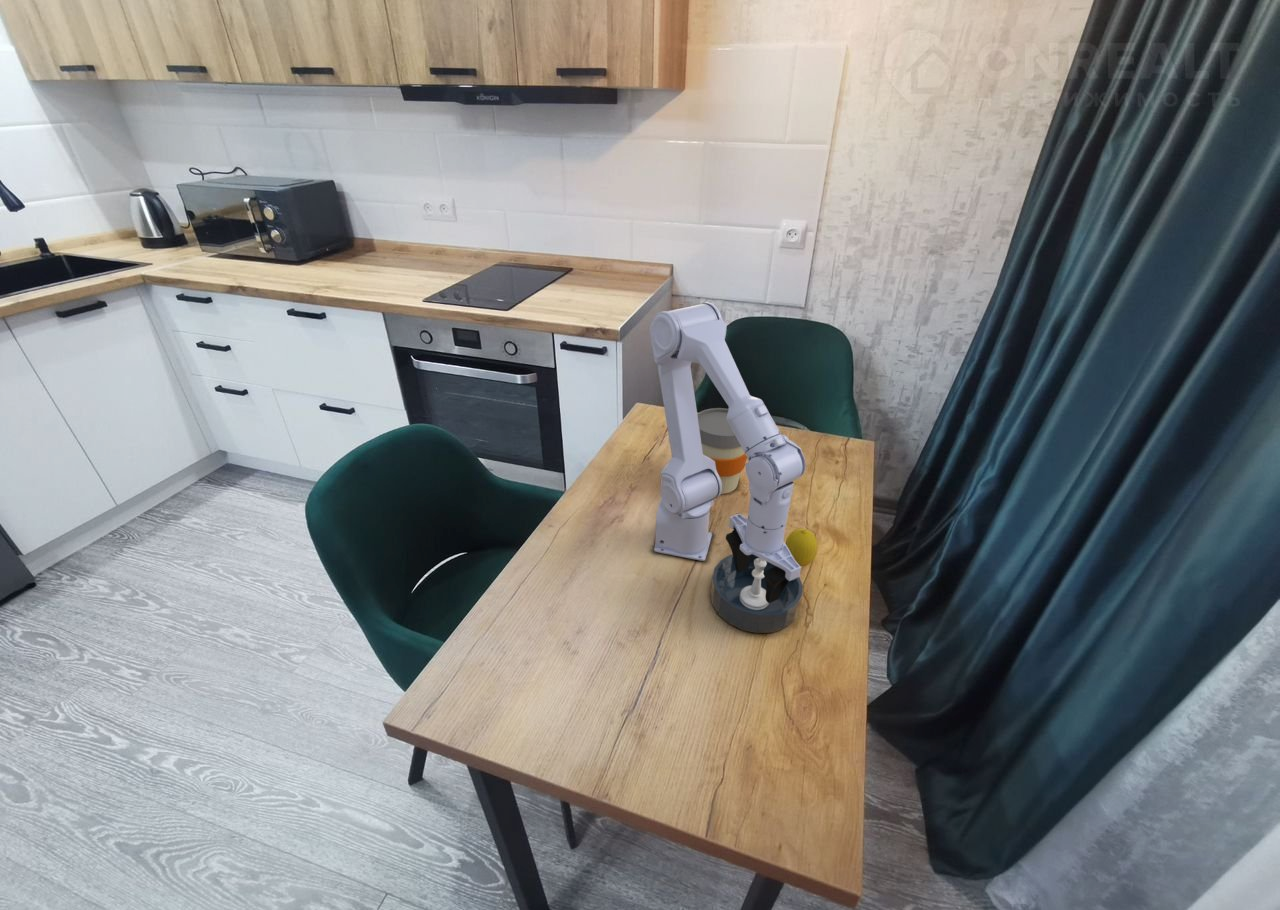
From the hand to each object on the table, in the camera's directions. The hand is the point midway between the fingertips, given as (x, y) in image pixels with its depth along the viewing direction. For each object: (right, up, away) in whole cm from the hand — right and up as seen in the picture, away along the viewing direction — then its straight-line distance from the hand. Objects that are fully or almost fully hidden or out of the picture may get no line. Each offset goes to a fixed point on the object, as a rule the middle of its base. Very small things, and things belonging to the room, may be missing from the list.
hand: (756, 584), depth 91 cm
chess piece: (0, -3, +2) cm, 3 cm away
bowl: (0, -3, +2) cm, 4 cm away
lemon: (+9, +1, +10) cm, 13 cm away
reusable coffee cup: (-2, +15, +32) cm, 35 cm away
